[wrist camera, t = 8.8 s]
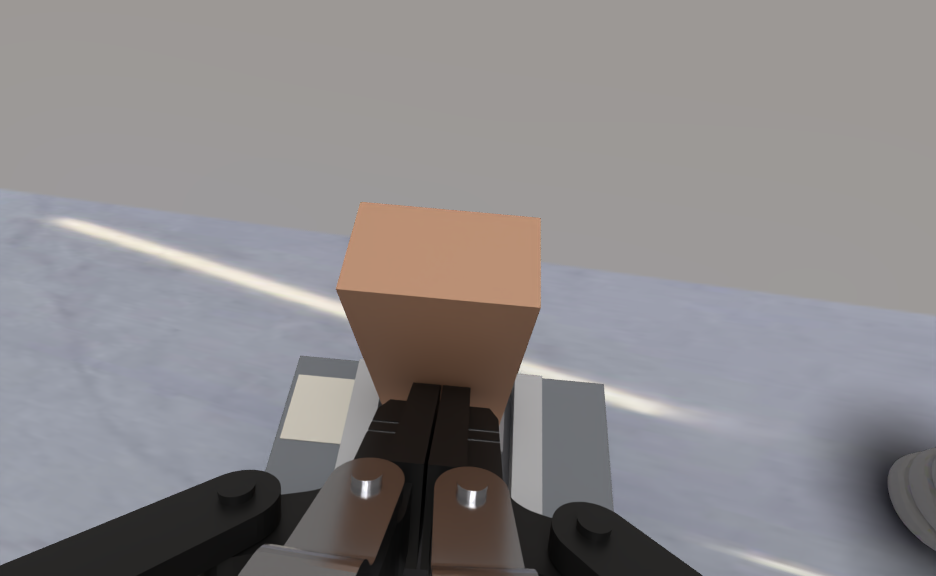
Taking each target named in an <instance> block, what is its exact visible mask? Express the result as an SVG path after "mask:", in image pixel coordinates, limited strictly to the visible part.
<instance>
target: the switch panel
mask: <svg viewBox="0 0 936 576" xmlns="http://www.w3.org/2000/svg"><path fill="white" fill-rule="evenodd" d="M380 406H382V404H381V401H380V399H379V396H378V394H377V391H376V389H375V386H374V384H373V381H372V378H371V376H370V373H369V371H368V368H367V366H366V363H365V361H364V359H360V360H359V361H351V360H341V359H330V358H319V357H309V356H300V358H299V362H298V365H297V368H296V371H295V375H294V378H293V381H292V385H291V388H290V391H289V394H288V398H287V401H286V404H285V408H284V411H283V414H282V417H281V421H280V424H279V427H278V431H277V434H276V437H275V440H274V444H273V447H272V450H271V454H270V457H269V460H268V463H267V467H266V470H265V472H268V473H270V474H272V475H274V476H275V477H276V478H277V479H278V480H279V482H280V484H281V495H282V494H290V493H298V492H306V491H311V490H316V489H320V488H322V487H323V485H324V484H325V482H326V481H327V479H328V478H329V476H330V475H331V473H332V472H333V471H334V470H335V469H336V468H337V467H339V466H340V465H342V464H344V463H346V462H348V461H351V460H354V458H355V455H356V453H357V451H358V449H359V447H360V445H361V443H362V441H363V438H364V436H365V434H366V432H367V431H368V428H369V426H370V424H371V422H372V420H373V417H374V415H375V413H376V411H377V409H378V408H379V407H380ZM501 461H502V474H503V481H504V482H505V483H506V485H507V487H508V490H509V494H510V497H511V498H512V499H513V500H514V501H515V502H517V503H518V504H519V505H521V506H523V507H524V508H526V509H528V510H530V511H533V512H535V513H538V514H541V515H544V516H547V517H550V518H552V516H553V514H554V512H555V511H556V510H557V508H559V507H560V506H562V505H564V504H566V503H570V502H588V503H593V504H597V505H600V506H603V507H605V508H607V509H609V510H611V511H613V512H614V510H613V497H612V484H611V471H610V459H609V446H608V433H607V420H606V407H605V395H604V384H596V383H585V382H575V381H564V380H554V379H543V378H542V376H537V375H527V374H517V376H516V379H515V382H514V385H513V388H512V391H511V393H510V396H509V399H508V402H507V405H506V408H505V410H504V434H503V452H502V454H501ZM422 537H423V533H422ZM421 550H422V539H421V545H420V551H419V557H418V563H417V568H416V569H407V568H404V572H403V576H427V574H428V570H420V564H421Z"/></svg>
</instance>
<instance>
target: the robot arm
mask: <svg viewBox="0 0 936 576" xmlns="http://www.w3.org/2000/svg"><path fill="white" fill-rule="evenodd" d="M470 391H471V388H469V387H459V386H448V385H443V389H442V394H441V385H436V384H425V383H414V382H413V384H412V387H411V390H410V392H409V395H408V398H407V401H404V400H394V399H390V400H389V401H387V402H386V403H384V404H383V405H382V406H380V407H379V408H378V409H377V411H376V413H375V415H374V417H373V420H372V422H371V424H370V426H369V428H368V431H367V432H366V434H365V436H364V438H363V441H362V443H361V445H360V447H359V449H358V451H357V453H356V455H355V458H354V460H351V461H348V462H346V463H344V464H342V465H340V466H339V467H337V468H336V469H335V470H334V471H333V472H332V473H331V475H330V476H329V478H328V479H327V481H326V482H325V484H324V485H323V487H322V488H320V489H316V490H311V491H306V492H298V493H290V494H282V495H281V484H280V482H279V480H278V479H277V478H276V477H275V476H274V475H272V474H270V473H268V472H264V471H259V470H241V471H235V472H231V473H227V474H224V475H222V476H219V477H216V478H214V479H211V480H209V481H207V482H204V483H202V484H199V485H197V486H194V487H192V488H189V489H187V490H184V491H182V492H180V493H177V494H175V495H172V496H170V497H167V498H165V499H162V500H160V501H157V502H155V503H153V504H150V505H148V506H145V507H143V508H140V509H138V510H135V511H133V512H130V513H128V514H126V515H123V516H121V517H118V518H116V519H113V520H111V521H108V522H106V523H103V524H101V525H99V526H96V527H94V528H91V529H89V530H86V531H84V532H81V533H79V534H76V535H74V536H72V537H69V538H67V539H64V540H62V541H59V542H57V543H54V544H52V545H49V546H47V547H45V548H42V549H40V550H37V551H35V552H32V553H30V554H27V555H25V556H22V557H20V558H18V559H15V560H13V561H10V562H8V563H5V564H3V565H0V576H403V572H404V568H407V569H416V568H417V563H418V557H419V551H420V545H421V539H422V550H421V564H420V570H428V574H427V576H702V575H701V574H700V573H698V572H697V571H696V570H694V569H693V568H691V567H690V566H689V565H687V564H686V563H684V562H683V561H682V560H680V559H679V558H677V557H676V556H675V555H673V554H672V553H670V552H669V551H668V550H666V549H665V548H664V547H662V546H661V545H659V544H658V543H657V542H655V541H654V540H652V539H651V538H650V537H648V536H647V535H645V534H644V533H643V532H641V531H640V530H639V529H637V528H636V527H634V526H633V525H632V524H630V523H629V522H627V521H626V520H625V519H623V518H622V517H620V516H619V515H618V514H616V513H614V512H613V511H611V510H609V509H607V508H605V507H603V506H600V505H597V504H593V503H588V502H570V503H566V504H564V505H562V506H560V507H559V508H557V510H556V511H555V512H554V514H553V516H552V518H550V517H547V516H544V515H541V514H538V513H535V512H533V511H530V510H528V509H526V508H524V507H523V506H521V505H519V504H518V503H517V502H515V501H514V500H513V499H512V498H511V497H510V494H509V490H508V487H507V485H506V483H505V482H504V481H503V474H502V461H501V448H500V434H499V421H498V418H497V417H496V416H495V414H494V413H493V412H492V411H491V410H490V408H481V407H471V406H470ZM440 395H441V399H440ZM422 533H423V537H422Z"/></svg>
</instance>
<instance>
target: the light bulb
mask: <svg viewBox="0 0 936 576" xmlns="http://www.w3.org/2000/svg"><path fill="white" fill-rule="evenodd" d="M887 480H888V491H889V495H890V498H891V501H892V504H893V506H894V509H895V510H896V512H897V514H898V515H899V517H900V518H901V520H902V521H903V523H904V524H905V525H906V526H907V527H908V529H909V530H910V531H911V532H912V533H913V534H914V535H915V536H916V537H917V538H919V539H920V540H921V541H922V542H923V543H924V544H926V545H927V546H929V547H930V548H932V549H933V550H935V551H936V447H935V448H932V449H928V450H925V451H923V452H916V453H912V454H908V455H905V456H903V457H901V458H900V459H898V460H897V461H895V463H894V464H893V466H892V467H891V469H890V470H889V474H888V479H887Z"/></svg>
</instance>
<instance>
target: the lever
mask: <svg viewBox="0 0 936 576" xmlns="http://www.w3.org/2000/svg"><path fill="white" fill-rule="evenodd" d="M540 219H541V218H534V217H524V216H512V215H501V214H490V213H479V212H467V211H457V210H445V209H434V208H422V207H412V206H400V205H389V204H378V203H367V202H361V203H360V206H359V209H358V213H357V216H356V220H355V223H354V227H353V231H352V234H351V237H350V241H349V244H348V248H347V252H346V255H345V259H344V262H343V266H342V269H341V273H340V276H339V280H338V283H337V287H336V290H337V293H338V296H339V298H340V301H341V303H342V306H343V308H344V311H345V313H346V316H347V318H348V321H349V323H350V326H351V328H352V331H353V333H354V336H355V338H356V341H357V343H358V346H359V348H360V351H361V353H362V356H363V358H364V361H365V363H366V366H367V368H368V371H369V373H370V376H371V378H372V381H373V384H374V386H375V389H376V391H377V394H378V396H379V399H380V401H381V404H382V405H383V404H384V403H386V402H387V401H389V400H390V399H394V400H404V401H407V398H408V395H409V392H410V390H411V387H412V384H413V382H414V383H425V384H436V385H441V394H442V389H443V385H448V386H459V387H469V388H471V391H470V406H471V407H481V408H490V410H491V411H492V412H493V413H494V414H495V416H496V417H497V418H498V421H499V434H500V448H501V454H502V452H503V434H504V410H505V408H506V405H507V402H508V399H509V396H510V393H511V391H512V388H513V385H514V382H515V379H516V376H517V374H518V371H519V368H520V365H521V362H522V359H523V356H524V354H525V351H526V348H527V345H528V342H529V339H530V337H531V334H532V331H533V328H534V325H535V322H536V320H537V317H538V314H539V311H540V308H541V255H540V254H541V247H540V246H541V244H540V242H541V235H540V234H541V232H540V231H541V221H540ZM440 399H441V395H440Z"/></svg>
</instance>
